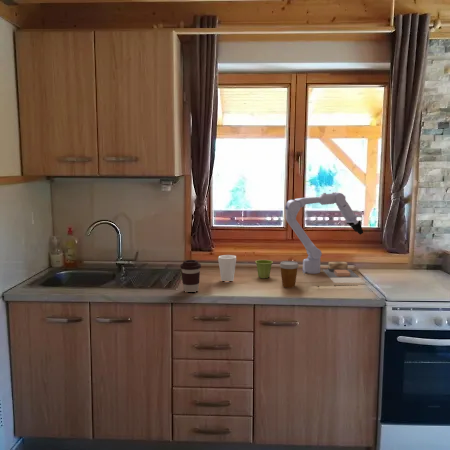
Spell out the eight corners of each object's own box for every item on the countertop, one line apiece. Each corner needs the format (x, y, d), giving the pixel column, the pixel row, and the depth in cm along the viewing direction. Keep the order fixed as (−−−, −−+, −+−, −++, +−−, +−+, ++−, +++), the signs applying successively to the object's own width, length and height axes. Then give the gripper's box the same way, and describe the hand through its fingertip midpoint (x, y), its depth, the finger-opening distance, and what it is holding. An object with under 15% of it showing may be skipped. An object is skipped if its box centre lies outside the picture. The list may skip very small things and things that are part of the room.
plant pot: (260, 274, 262) (261, 259, 261) (275, 276, 257) (275, 261, 256) (252, 277, 255) (252, 262, 254) (267, 280, 249) (267, 264, 248)
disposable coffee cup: (287, 282, 245) (287, 260, 243) (302, 286, 238) (302, 262, 236) (275, 286, 238) (275, 262, 236) (290, 289, 231) (290, 266, 230)
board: (333, 285, 238) (334, 282, 238) (322, 272, 266) (322, 269, 266) (365, 285, 238) (365, 282, 238) (350, 271, 266) (350, 269, 266)
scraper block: (329, 271, 261) (329, 263, 261) (327, 269, 265) (328, 262, 265) (347, 271, 261) (347, 263, 261) (345, 269, 265) (345, 261, 265)
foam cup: (215, 282, 246) (215, 257, 245) (222, 277, 255) (222, 254, 253) (232, 283, 243) (232, 259, 241) (238, 279, 251) (238, 255, 250)
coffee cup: (182, 288, 235) (181, 259, 233) (201, 288, 235) (201, 259, 233) (179, 294, 225) (179, 263, 223) (200, 294, 225) (199, 263, 223)
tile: (336, 276, 250) (337, 272, 250) (333, 273, 257) (334, 269, 257) (350, 276, 250) (350, 272, 250) (346, 273, 257) (346, 269, 257)
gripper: (357, 209, 250) (369, 230, 252) (349, 206, 264) (361, 225, 266) (345, 217, 250) (358, 237, 252) (338, 212, 264) (351, 232, 266)
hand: (359, 232), depth 259 cm, fingers open, 7 cm apart
